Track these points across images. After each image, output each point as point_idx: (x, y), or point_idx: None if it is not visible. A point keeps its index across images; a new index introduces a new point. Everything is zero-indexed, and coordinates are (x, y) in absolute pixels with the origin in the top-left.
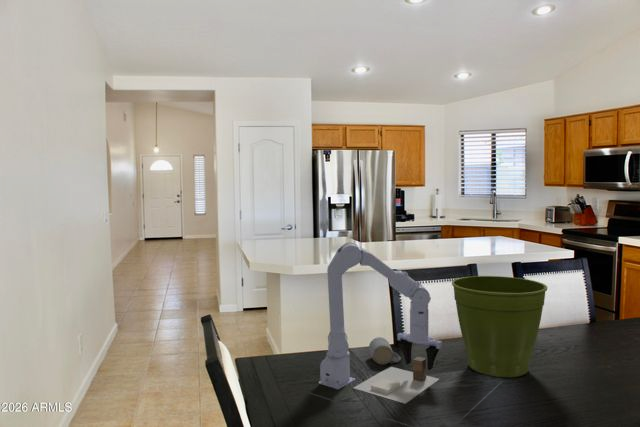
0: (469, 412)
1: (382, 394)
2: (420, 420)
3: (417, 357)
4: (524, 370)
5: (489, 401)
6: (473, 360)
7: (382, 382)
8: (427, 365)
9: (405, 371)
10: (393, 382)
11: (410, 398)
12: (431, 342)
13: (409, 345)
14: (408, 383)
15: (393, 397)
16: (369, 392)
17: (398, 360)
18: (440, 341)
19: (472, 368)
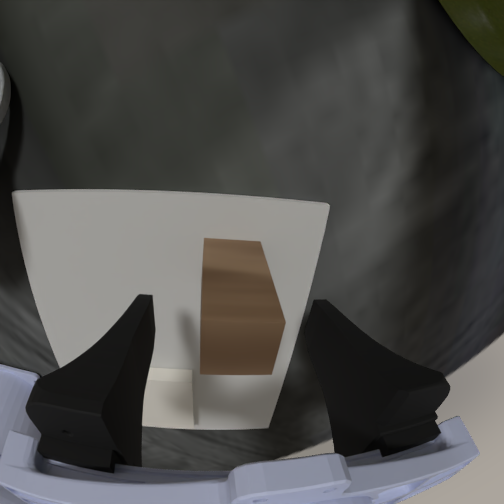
0: (429, 367)
1: None
2: (323, 440)
3: (209, 334)
4: None
5: (484, 286)
6: (493, 27)
7: None
8: (311, 358)
9: (106, 208)
10: (169, 390)
11: (270, 408)
12: (395, 499)
13: (127, 420)
14: None
15: (219, 422)
16: None
17: (4, 107)
18: (469, 458)
19: (451, 17)
